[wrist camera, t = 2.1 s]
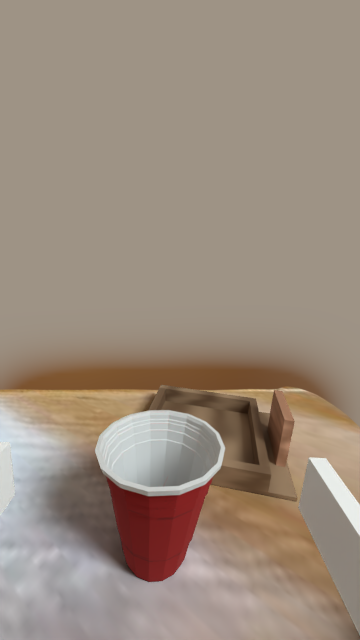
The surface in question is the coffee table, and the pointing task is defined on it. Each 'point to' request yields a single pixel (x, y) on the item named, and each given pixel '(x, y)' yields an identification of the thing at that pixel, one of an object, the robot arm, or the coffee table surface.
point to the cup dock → (241, 437)
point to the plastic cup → (158, 484)
